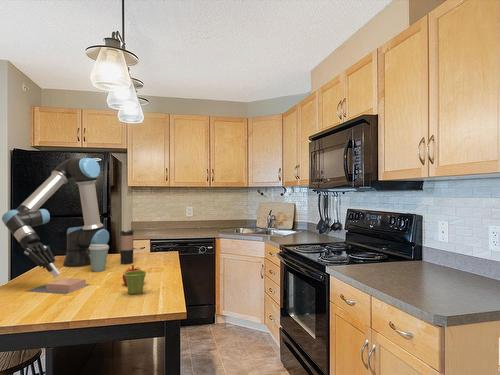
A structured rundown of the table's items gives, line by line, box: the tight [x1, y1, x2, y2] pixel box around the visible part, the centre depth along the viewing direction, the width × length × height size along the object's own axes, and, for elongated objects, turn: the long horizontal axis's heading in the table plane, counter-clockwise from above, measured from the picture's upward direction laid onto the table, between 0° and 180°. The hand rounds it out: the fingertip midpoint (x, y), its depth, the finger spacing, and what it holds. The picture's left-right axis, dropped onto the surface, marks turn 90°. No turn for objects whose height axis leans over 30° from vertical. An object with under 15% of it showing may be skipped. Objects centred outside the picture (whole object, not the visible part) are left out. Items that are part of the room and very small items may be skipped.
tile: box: [46, 277, 87, 293], centre depth 151 cm, size 10×3×12 cm
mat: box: [25, 283, 92, 295], centre depth 152 cm, size 16×21×1 cm
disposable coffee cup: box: [88, 244, 110, 273], centre depth 188 cm, size 11×11×15 cm
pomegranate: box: [122, 264, 143, 287], centre depth 160 cm, size 10×10×9 cm
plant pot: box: [123, 270, 147, 295], centre depth 146 cm, size 9×9×9 cm
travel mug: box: [119, 230, 134, 265], centre depth 208 cm, size 8×8×20 cm
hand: (57, 275), depth 152 cm, fingers closed
